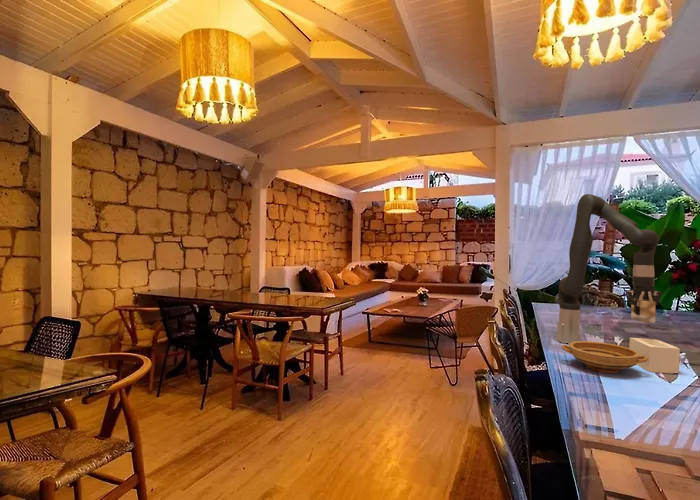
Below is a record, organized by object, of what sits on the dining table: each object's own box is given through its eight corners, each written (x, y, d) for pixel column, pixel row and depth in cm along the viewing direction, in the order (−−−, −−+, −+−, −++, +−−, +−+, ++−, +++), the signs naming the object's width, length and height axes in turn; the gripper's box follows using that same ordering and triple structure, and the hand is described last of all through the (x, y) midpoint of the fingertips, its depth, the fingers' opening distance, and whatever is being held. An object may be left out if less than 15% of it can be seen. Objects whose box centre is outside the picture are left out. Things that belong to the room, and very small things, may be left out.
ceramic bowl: (643, 366, 162) (644, 347, 162) (652, 384, 142) (653, 362, 141) (562, 354, 178) (562, 337, 177) (559, 369, 157) (559, 349, 156)
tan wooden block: (645, 322, 167) (645, 301, 167) (631, 318, 177) (631, 298, 177) (655, 323, 167) (655, 301, 167) (640, 318, 177) (641, 298, 177)
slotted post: (648, 371, 156) (649, 346, 156) (628, 360, 171) (629, 337, 171) (678, 373, 154) (679, 348, 154) (655, 362, 169) (656, 339, 169)
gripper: (630, 276, 169) (630, 316, 169) (667, 276, 167) (666, 316, 167) (621, 274, 176) (620, 312, 177) (655, 274, 175) (655, 313, 175)
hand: (643, 314), depth 172 cm, fingers closed on tan wooden block, 4 cm apart
